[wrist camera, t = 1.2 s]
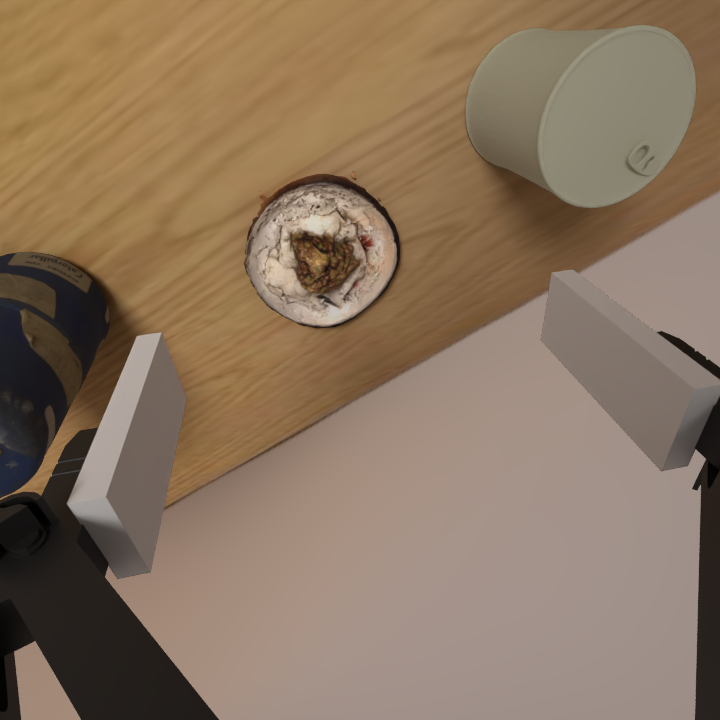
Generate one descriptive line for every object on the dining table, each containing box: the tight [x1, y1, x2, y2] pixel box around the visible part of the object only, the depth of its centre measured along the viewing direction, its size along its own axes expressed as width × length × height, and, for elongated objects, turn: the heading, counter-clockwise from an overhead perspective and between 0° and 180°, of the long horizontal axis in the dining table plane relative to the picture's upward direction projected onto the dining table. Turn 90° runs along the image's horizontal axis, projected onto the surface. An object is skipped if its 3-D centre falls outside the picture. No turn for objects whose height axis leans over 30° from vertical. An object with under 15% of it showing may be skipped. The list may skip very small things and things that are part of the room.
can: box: [465, 25, 696, 208], centre depth 31 cm, size 9×9×12 cm
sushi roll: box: [244, 171, 400, 328], centre depth 38 cm, size 15×15×4 cm
